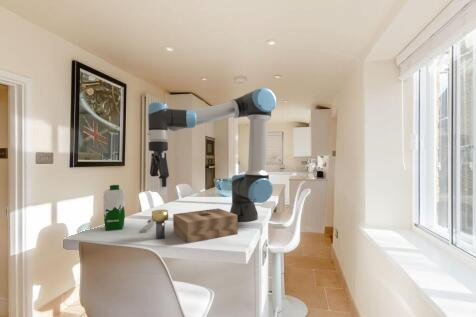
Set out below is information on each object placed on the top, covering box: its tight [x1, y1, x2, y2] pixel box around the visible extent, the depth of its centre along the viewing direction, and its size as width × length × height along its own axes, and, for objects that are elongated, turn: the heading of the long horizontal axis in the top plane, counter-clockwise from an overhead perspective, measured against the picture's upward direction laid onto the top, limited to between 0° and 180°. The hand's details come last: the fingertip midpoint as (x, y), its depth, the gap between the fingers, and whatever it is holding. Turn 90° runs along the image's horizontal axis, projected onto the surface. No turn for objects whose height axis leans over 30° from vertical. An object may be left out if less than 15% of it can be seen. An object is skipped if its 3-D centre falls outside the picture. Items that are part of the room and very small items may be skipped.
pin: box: [151, 209, 169, 240], centre depth 113 cm, size 6×6×11 cm
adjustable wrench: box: [140, 217, 156, 234], centre depth 134 cm, size 25×6×2 cm, turn 177°
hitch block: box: [172, 208, 239, 244], centre depth 119 cm, size 22×18×8 cm
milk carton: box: [102, 184, 126, 231], centre depth 130 cm, size 9×9×20 cm
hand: (158, 193), depth 113 cm, fingers open, 13 cm apart
